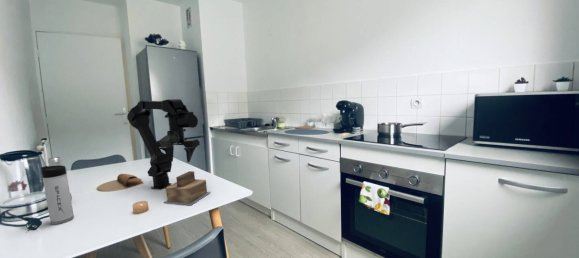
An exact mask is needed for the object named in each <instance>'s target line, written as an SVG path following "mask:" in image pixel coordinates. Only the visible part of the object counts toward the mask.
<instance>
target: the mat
mask: <svg viewBox="0 0 579 258" xmlns="http://www.w3.org/2000/svg"><path fill="white" fill-rule="evenodd" d="M210 194H211V191H207V193H206V194H204V195H203V196H201V197H200V198H198V199H197V200H195V201H194V202H192V203H180V202H168V201H167V200H165V201H163V204H169V205H178V206H179V205H180V206H190V207H191V206H193V205H194V204H196V203H197V202H199V201H201V200H203V199H204V198H205V197H207V196H208V195H210Z"/></svg>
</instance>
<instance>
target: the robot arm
mask: <svg viewBox="0 0 579 258" xmlns="http://www.w3.org/2000/svg"><path fill="white" fill-rule="evenodd" d="M152 110H160V111H162V112H165V113H166V114H165V115H164V118H165V119H168V129H169V130H167V131H166V133H167V134H166V135H164V136H163V137H162V138H160V139H159V140H158V141H157V140H156V138H155V135H154V133H153V132H152V129H151V128H150V122H151V119H150V116H151V114H152ZM126 117H127V118H126V119H127V121H128V123H129V124H130V125H131V127H133V128H134V129H136V130H137V131H138V133H139V135H140V137H141V139H142V141H143V143H144V145H145V147H146V149H147V151H148V153H149V155H150V159H149V164H150V167H149V169H148V170H147V176H148V177H151V178H152V183H153V185H152V186H151V187H150V189H158V190H162V189H166V187H168V186H170V185H172V183H171V182H170V178H169V174H168V173H171V172H172V167H173V166H172V165H173V163H172V162H173V161H174V148H175V147H174V146H183V147H184V148H183V150H184V151H185V154H186V161H187V163H190V162H191V160H192V157H193V154H194V152H195V150H196V148H198V146H200V145H201V144H200V140H199V139H198V138H191V139H187V137H185V132H186V129H191V128H192V129H193V128H196V127H197V126H198V124H199V119H198V117H197V116H196V115H195V114H194V111H189V109H188V108H187V107H186V105H185V104H184V102H183V100H182V99H179V98H175V99H174V98H173V99H172V98H171V99H164V100H163V99H162V100H149V99H147V100H145V99H143V100H138V102H137V104H136V105H134V106H133V107H132V108H130V110H129V111H128V113H127V116H126ZM164 152H165V153H164Z"/></svg>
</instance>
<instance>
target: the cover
mask: <svg viewBox="0 0 579 258" xmlns="http://www.w3.org/2000/svg"><path fill="white" fill-rule="evenodd" d="M195 175H196V174H195V171H192V170H191V171H190V170H189V171H187V172H184V173H183V174H182V173H181V174H180V175H178V176H176V177H175V178H176V179H175V180H176V182H174V183H171V185H169V186H167V187H165V192H166V193H165V194H166V201H168V202H180V203H192V202H194V201H195V200H197V199H198V198H200V197H201V196H203V195H204V194H206V193H207V192H208V188H207V187H208V186H207V180H206V179H198V178H197V179H196V177H195Z"/></svg>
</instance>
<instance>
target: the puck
mask: <svg viewBox="0 0 579 258" xmlns="http://www.w3.org/2000/svg"><path fill="white" fill-rule="evenodd" d="M131 206H132V211H133V214H134V215H140V214H143V213H146V212H148V211H149V202H148V201H147V200H141V201H136V202H134V203H133V204H132V205H131Z"/></svg>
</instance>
